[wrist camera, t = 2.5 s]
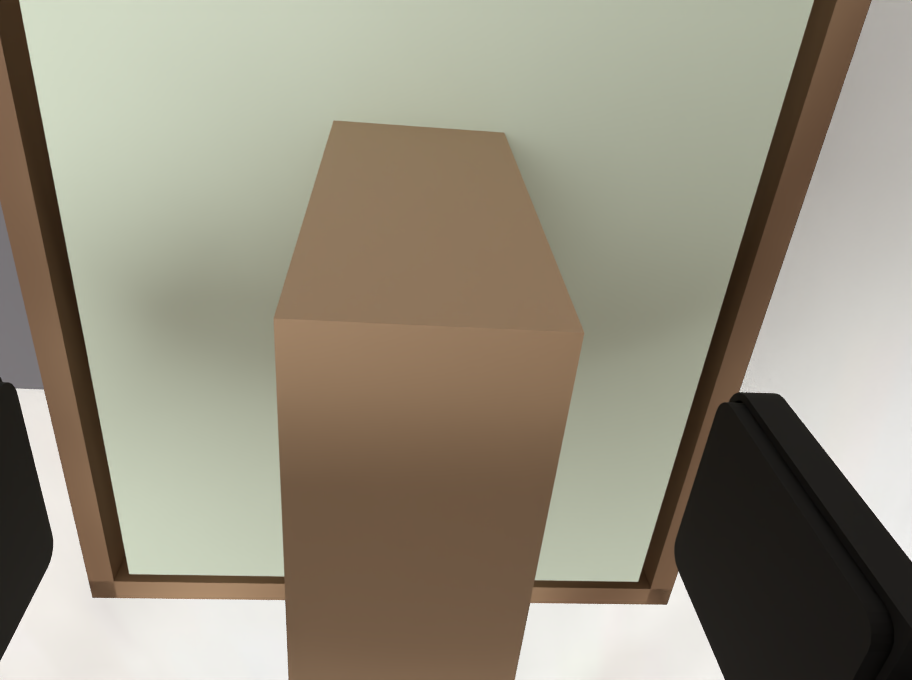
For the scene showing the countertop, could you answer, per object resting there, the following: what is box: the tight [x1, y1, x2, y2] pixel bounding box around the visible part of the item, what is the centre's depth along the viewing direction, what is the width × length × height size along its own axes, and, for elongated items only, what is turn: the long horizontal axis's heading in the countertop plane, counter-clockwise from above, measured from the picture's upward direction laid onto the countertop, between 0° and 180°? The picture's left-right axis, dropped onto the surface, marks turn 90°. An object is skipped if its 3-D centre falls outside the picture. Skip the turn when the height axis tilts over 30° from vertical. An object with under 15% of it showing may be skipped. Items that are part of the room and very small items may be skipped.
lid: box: [19, 0, 814, 680], centre depth 12 cm, size 13×17×8 cm
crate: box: [0, 0, 871, 605], centre depth 19 cm, size 15×19×10 cm
